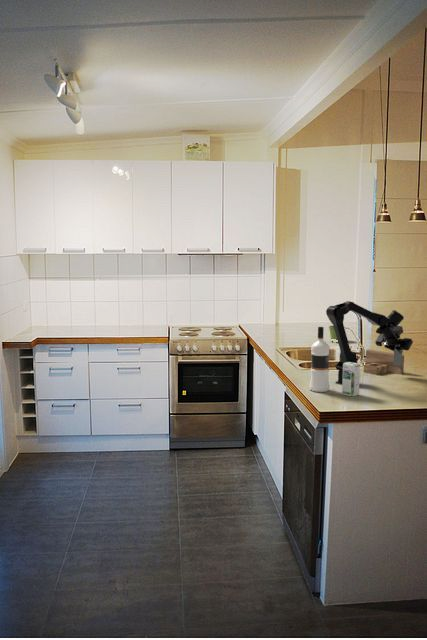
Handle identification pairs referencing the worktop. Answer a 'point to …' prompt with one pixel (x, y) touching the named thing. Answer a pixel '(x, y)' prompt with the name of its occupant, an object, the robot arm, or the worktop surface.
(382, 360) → the wooden socket
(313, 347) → the vodka
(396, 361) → the grey bar
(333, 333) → the plant pot
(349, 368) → the syrup box
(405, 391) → the worktop surface
